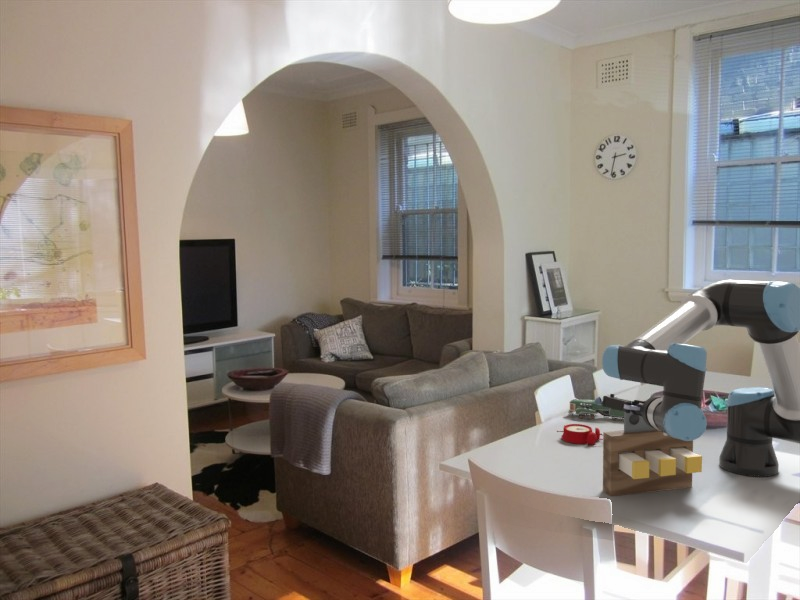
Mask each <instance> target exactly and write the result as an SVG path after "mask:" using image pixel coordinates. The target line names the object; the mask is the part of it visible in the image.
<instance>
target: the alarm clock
mask: <svg viewBox="0 0 800 600" xmlns="http://www.w3.org/2000/svg"><path fill="white" fill-rule="evenodd" d="M594 430H595V432H593V428H592V427H591V426H589V425H586V424H581V423H579V424H578V423H572V424H571V423H570V424H566V425H564V426H563V430H556V432H557V433H562V435H561V439H562V440H563V441H564V442H567V443H570V444H576V445H577V444H579V445H585V444H587V445H589V446H592V445H593V446H594V445H595V444H596V443H597V441H599V440H600V441H602V440H603V438H601V436H603V434H602V433H601V431H600V430H601V429H600V428H599V427H595V429H594ZM596 440H597V441H596Z"/></svg>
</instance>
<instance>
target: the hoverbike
mask: <svg viewBox="0 0 800 600" xmlns="http://www.w3.org/2000/svg"><path fill="white" fill-rule="evenodd" d="M602 402H603V399H602V398H601V396H598V397H595V399H578V398H576V397H574V399H572V400H570V401H569V409H568V411H567V413H568V415H571V414H572V415H571V416H572V417H574V415H576V417H577V416H579V417H578V418H580V419H583V418H584V416H586V417H587V416H588V415H589V418H590V419H591V420H594V419H595V415H597V414H600V415H601V416H603V417H605V418H609V419H610V417H611V419H612V420H621V421H620V422H622V421H624V411H620V410H616V409H612V408H608V407H603V406H602Z"/></svg>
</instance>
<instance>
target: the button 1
mask: <svg viewBox="0 0 800 600" xmlns="http://www.w3.org/2000/svg"><path fill="white" fill-rule="evenodd" d="M618 469H620V470H621V471H623V472H625V473H626V474H628V475H629V476H631V477H632V478H633V479H641V478H649V461H648V460H645V459H643V458H641V457H640V456H638V455H636V454H634V453H633V452H631V451H630V452H620V453H618Z"/></svg>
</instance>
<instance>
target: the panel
mask: <svg viewBox="0 0 800 600" xmlns="http://www.w3.org/2000/svg"><path fill="white" fill-rule="evenodd" d="M602 436H603V438H602V439H603V441H602V442H603V444H602V447H603V449H602V491H603V492H604V493H606V494H607V495H608V496H610V497H614V496H625V495H634V494H642V493H650V492H660V490H661V491H668V489H670V490H678V489H679V490H680V489H688V488H693V473H688V474H687V473H685V471H683V470H681V469H679V468H677V467H676V475H669V476H659V474H657V473H655V472H654V471H652V470H650V469H649V478H641V479H633V478H632V477H631V476H629V475H628V474H626V473H625V472H623V471H621V470H620V469H618V453H620V452H630V451H631V452H633V453H634V454H636V455H638V456H640V457H641V458H643V459H644V450H651V449H657V450H659V451H661V452H663V453H665V454H667V455H669V451H670V448H672V447H684V448H686V449H688V450H690V451H692V452H694V440H691V441H684V440H681V439H677V438H673V437H671V436H670V435H667V436H664V435H663V432H662V431H659V430H653V431H642V432H631V433H624V429H623V430H621V429H620V430H613V431H611V430H609V431H603V434H602Z"/></svg>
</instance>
